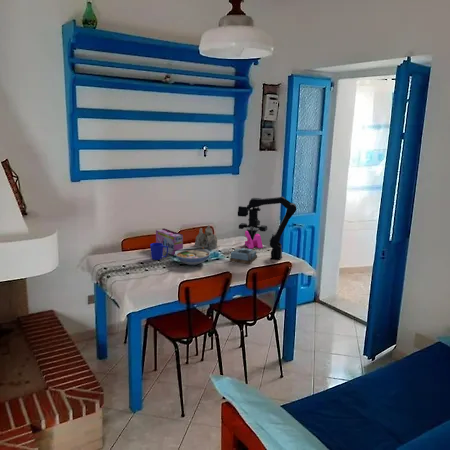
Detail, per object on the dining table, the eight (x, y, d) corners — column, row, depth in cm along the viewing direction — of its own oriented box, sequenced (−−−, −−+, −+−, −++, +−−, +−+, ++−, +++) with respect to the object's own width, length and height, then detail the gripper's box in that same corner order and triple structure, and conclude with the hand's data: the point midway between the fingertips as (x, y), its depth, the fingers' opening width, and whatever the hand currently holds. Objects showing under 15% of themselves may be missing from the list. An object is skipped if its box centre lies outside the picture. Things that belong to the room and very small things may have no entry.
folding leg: (251, 259, 292) (251, 253, 291) (249, 260, 289) (250, 255, 288) (232, 256, 297) (232, 251, 297) (230, 257, 295) (230, 252, 294)
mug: (166, 261, 293) (166, 246, 290) (148, 260, 295) (148, 245, 293) (170, 257, 301) (170, 243, 298) (153, 256, 303) (152, 242, 301)
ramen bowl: (176, 270, 276) (176, 258, 274) (170, 259, 297) (170, 247, 295) (215, 267, 282) (215, 255, 280) (207, 256, 304) (207, 245, 302)
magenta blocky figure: (244, 244, 335) (245, 231, 332) (258, 243, 337) (258, 230, 334) (249, 248, 323) (249, 235, 321) (262, 248, 325) (263, 234, 323)
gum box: (154, 247, 323) (154, 229, 320) (163, 245, 328) (163, 227, 325) (174, 255, 306) (173, 236, 302) (183, 253, 311) (183, 234, 308)
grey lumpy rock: (193, 243, 334) (194, 224, 330) (215, 243, 338) (216, 224, 333) (196, 250, 320) (197, 230, 315) (219, 250, 323) (220, 230, 319)
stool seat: (257, 258, 302) (257, 250, 301) (249, 264, 290) (250, 255, 289) (237, 255, 308) (237, 247, 306) (229, 261, 295) (230, 253, 294)
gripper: (270, 216, 302) (269, 238, 306) (244, 213, 309) (243, 235, 313) (265, 219, 292) (264, 242, 296) (238, 216, 300) (238, 239, 303)
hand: (252, 239), depth 302 cm, fingers closed
